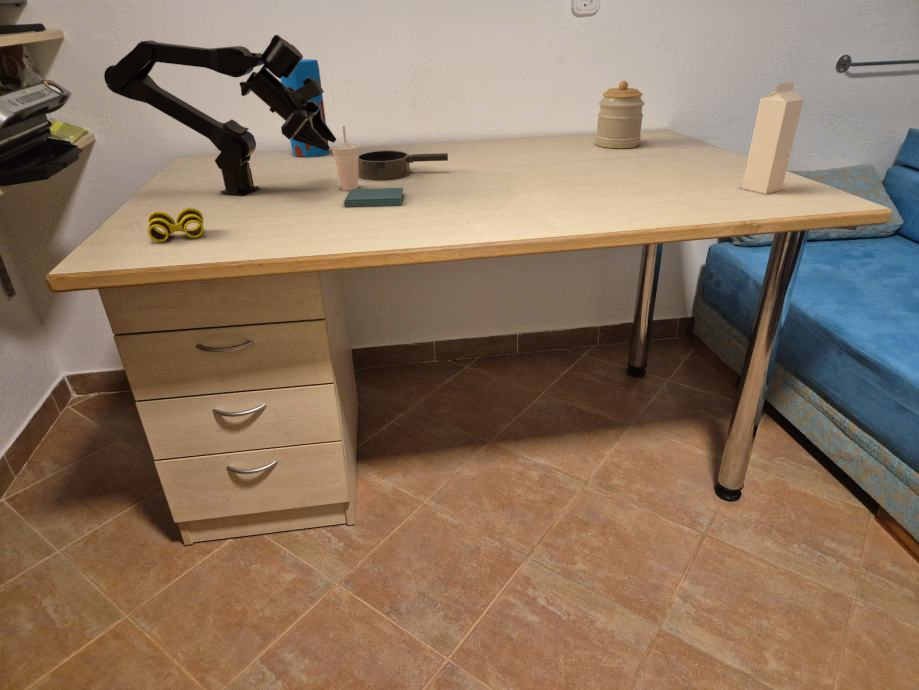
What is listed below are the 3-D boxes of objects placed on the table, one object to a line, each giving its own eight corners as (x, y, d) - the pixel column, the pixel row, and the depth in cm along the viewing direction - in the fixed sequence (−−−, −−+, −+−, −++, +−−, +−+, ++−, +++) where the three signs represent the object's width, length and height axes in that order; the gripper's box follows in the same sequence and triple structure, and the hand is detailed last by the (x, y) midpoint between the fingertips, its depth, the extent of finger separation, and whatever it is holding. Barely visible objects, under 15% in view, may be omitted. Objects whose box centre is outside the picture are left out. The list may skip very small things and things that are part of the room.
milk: (781, 190, 133) (809, 82, 122) (765, 194, 131) (791, 85, 120) (757, 184, 138) (781, 80, 127) (740, 188, 135) (763, 82, 124)
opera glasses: (151, 247, 112) (143, 223, 108) (152, 233, 115) (144, 210, 112) (206, 240, 114) (200, 217, 111) (206, 227, 118) (200, 204, 115)
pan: (355, 180, 149) (353, 162, 146) (361, 168, 160) (360, 151, 158) (408, 179, 149) (407, 160, 147) (411, 167, 160) (410, 149, 158)
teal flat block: (344, 207, 129) (343, 200, 128) (350, 195, 137) (349, 189, 136) (400, 205, 129) (400, 198, 128) (403, 194, 137) (402, 187, 136)
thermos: (314, 148, 185) (301, 58, 173) (336, 152, 179) (325, 59, 167) (285, 154, 178) (270, 61, 166) (307, 158, 172) (293, 63, 160)
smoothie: (366, 184, 145) (360, 124, 138) (359, 192, 139) (353, 129, 133) (340, 184, 146) (333, 124, 139) (333, 191, 140) (325, 129, 133)
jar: (613, 138, 188) (619, 77, 179) (648, 144, 179) (656, 80, 170) (586, 144, 181) (591, 81, 172) (621, 151, 172) (628, 84, 163)
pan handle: (407, 162, 152) (406, 155, 151) (407, 161, 154) (407, 153, 153) (447, 161, 152) (447, 154, 151) (447, 160, 154) (447, 152, 153)
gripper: (287, 69, 121) (348, 125, 127) (305, 62, 137) (359, 111, 143) (255, 112, 125) (316, 164, 131) (277, 100, 141) (330, 146, 147)
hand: (332, 145), depth 138 cm, fingers open, 9 cm apart
